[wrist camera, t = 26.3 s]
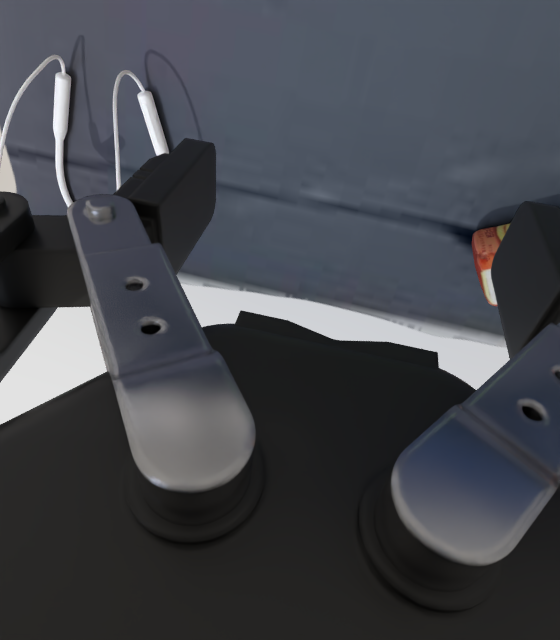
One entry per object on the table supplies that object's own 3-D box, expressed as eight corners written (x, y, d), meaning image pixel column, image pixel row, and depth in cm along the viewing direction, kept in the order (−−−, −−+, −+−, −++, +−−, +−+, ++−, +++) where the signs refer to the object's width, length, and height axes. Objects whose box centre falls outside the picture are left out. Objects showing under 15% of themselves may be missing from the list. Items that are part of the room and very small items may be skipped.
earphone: (159, 62, 36) (110, 285, 37) (207, 138, 52) (173, 290, 53) (-2, 28, 37) (-46, 247, 38) (95, 113, 53) (63, 263, 54)
